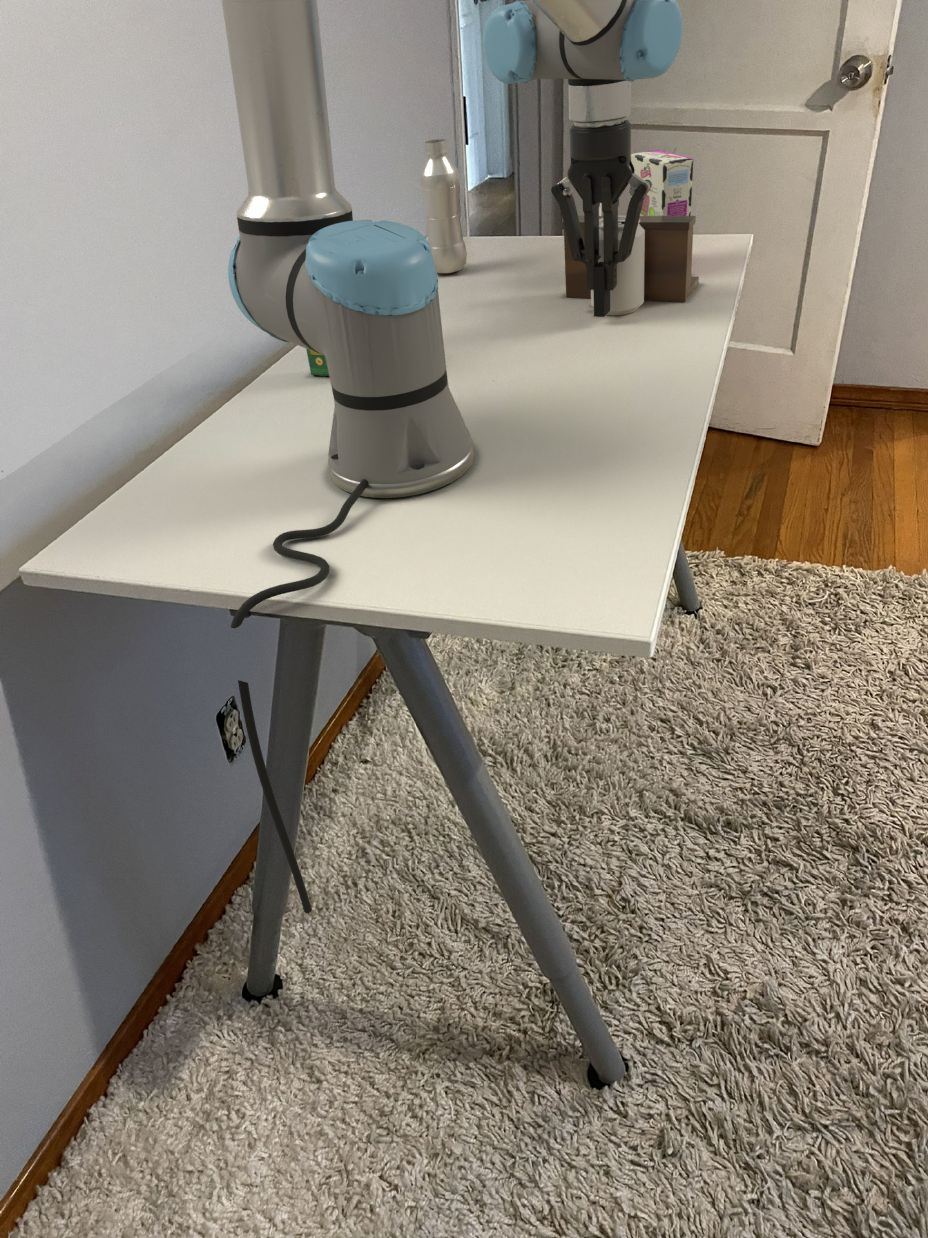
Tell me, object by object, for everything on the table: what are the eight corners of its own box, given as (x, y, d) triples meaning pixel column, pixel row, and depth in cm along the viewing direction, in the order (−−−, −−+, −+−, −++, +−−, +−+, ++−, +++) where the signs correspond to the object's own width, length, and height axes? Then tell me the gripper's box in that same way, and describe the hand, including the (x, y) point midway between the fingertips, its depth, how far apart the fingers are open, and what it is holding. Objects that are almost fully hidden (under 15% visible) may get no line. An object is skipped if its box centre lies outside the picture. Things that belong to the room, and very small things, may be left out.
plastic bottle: (423, 272, 157) (407, 142, 145) (459, 263, 159) (446, 135, 147) (438, 280, 152) (423, 146, 140) (475, 271, 154) (463, 139, 142)
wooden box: (686, 302, 130) (689, 222, 124) (564, 298, 137) (561, 221, 131) (700, 284, 136) (703, 207, 130) (582, 281, 143) (580, 207, 137)
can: (647, 299, 133) (648, 211, 126) (640, 316, 127) (641, 225, 120) (595, 300, 135) (594, 213, 128) (586, 317, 129) (584, 227, 122)
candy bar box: (690, 275, 140) (695, 157, 131) (660, 281, 139) (663, 162, 130) (656, 258, 149) (658, 147, 139) (628, 264, 148) (628, 152, 139)
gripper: (660, 113, 113) (656, 306, 126) (560, 117, 118) (566, 302, 131) (643, 124, 107) (640, 324, 121) (539, 128, 112) (548, 320, 126)
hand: (602, 313), depth 126 cm, fingers closed
